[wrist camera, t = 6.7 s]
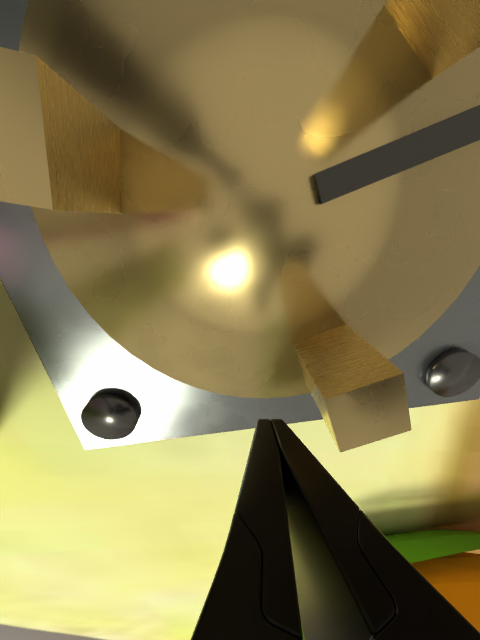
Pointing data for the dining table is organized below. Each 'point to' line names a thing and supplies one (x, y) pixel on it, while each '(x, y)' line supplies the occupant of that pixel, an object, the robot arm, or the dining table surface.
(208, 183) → the brass lathe chuck
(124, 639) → the dining table surface
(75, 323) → the flange plate
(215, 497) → the dining table surface
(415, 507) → the dining table surface
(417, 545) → the corn
